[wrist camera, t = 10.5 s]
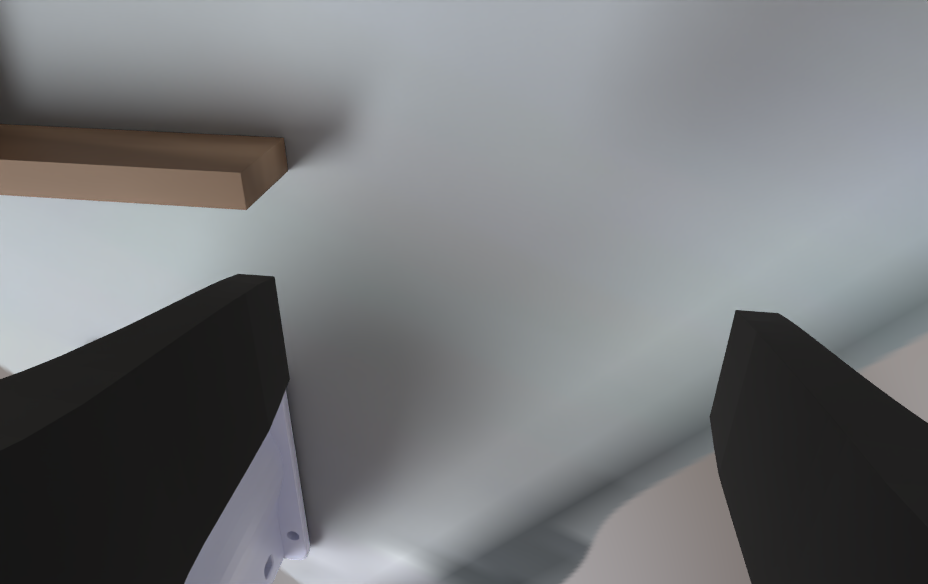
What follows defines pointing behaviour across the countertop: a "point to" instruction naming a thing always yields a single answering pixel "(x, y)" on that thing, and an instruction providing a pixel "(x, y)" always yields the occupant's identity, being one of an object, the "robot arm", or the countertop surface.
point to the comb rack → (139, 166)
